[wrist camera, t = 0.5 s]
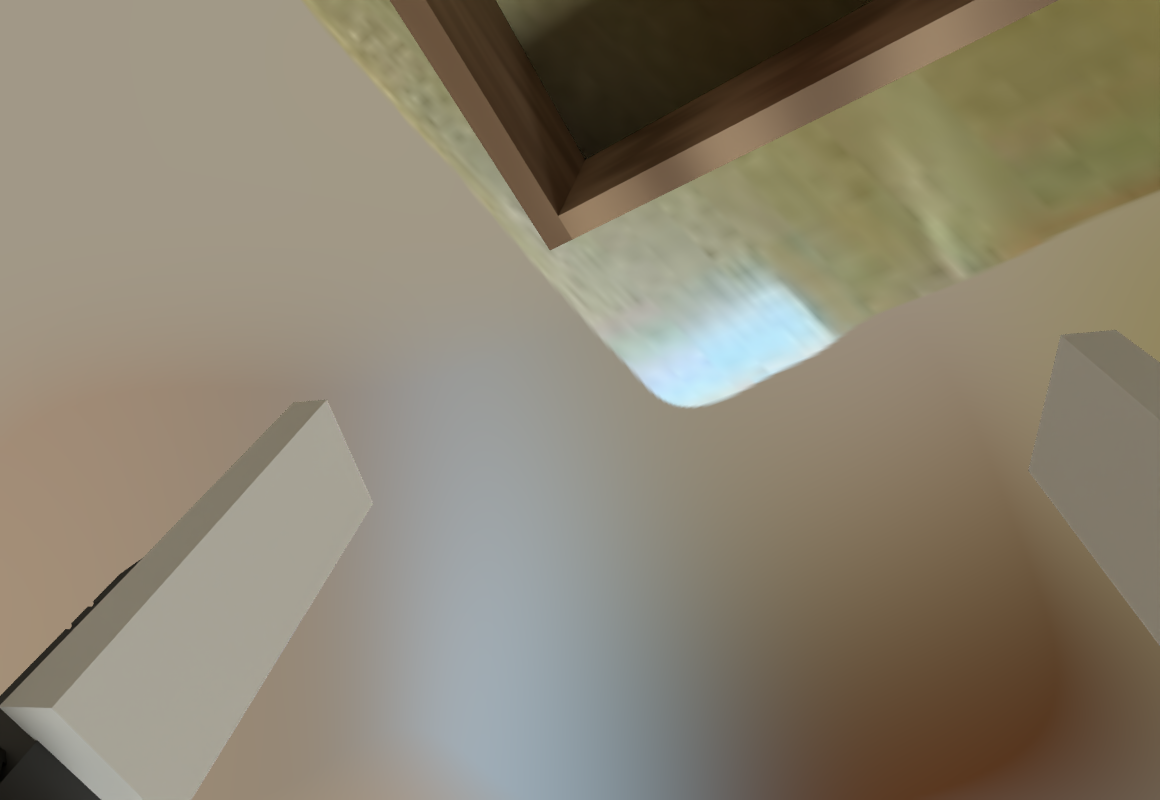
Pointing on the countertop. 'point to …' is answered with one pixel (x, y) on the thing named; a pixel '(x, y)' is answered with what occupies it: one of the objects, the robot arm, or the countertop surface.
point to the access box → (690, 133)
